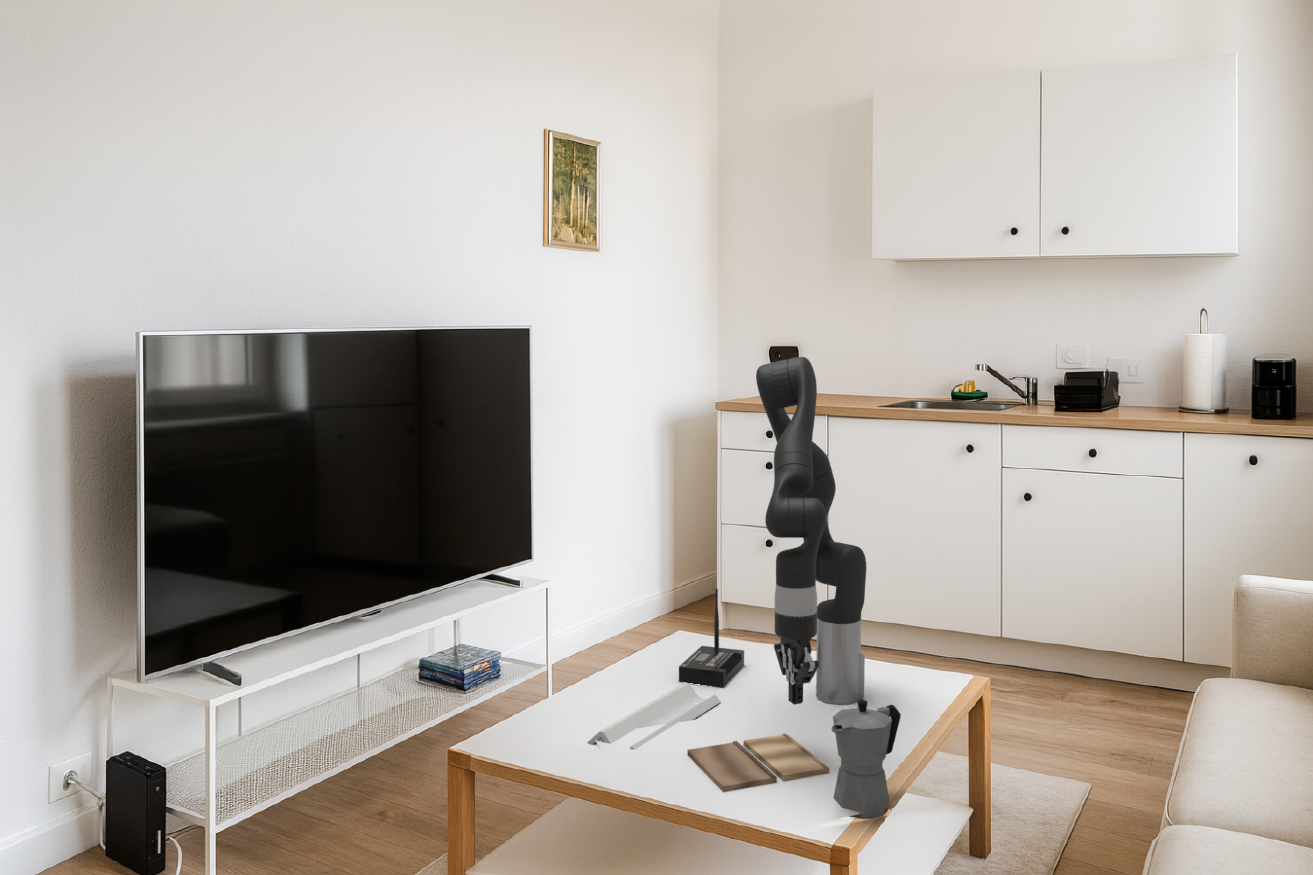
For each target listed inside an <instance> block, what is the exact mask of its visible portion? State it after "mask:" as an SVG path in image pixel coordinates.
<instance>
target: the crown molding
mask: <svg viewBox="0 0 1313 875" xmlns="http://www.w3.org/2000/svg"><path fill="white" fill-rule="evenodd" d="M721 702H722V701H721V699H719V697H718V696H717V695H716V694H713V695H712V696H709V697H708V698H702V697H701V696H699V695H698V694H697V692H696V691H695V689H694V688H693V687H692V686H691V684H689V683H686V682H685V683H681V684H679V685H678V686H676V687H675V688H673V689H671V690H669V691H668V692H666V693H665V694H662V695H660V696H659V697H657V698H655V699H654V700H652V701H651V702H648V703H647V704H645V705H643V706H641V707H640V708H638V709H637V710H636V709H635V710H634V711H633V712H631V713H629V714H627V715H626V716H624V717H623V718H621V719H619V720H617V721H615V722H614V723H612V724H610V725H608V726H607V727H605V728H603V729H601V730H600V731H598V732H597V733H596V734H595V735H593V737H591V738H590V739H589V740H588V741H587V743H586V744H590V745H595V744H596V743H597V741H600V742H604V743H607V744H613V743H615V742H616V741H618V740H620V739H622V738H623V737H625V736H626V735H628V734H630V733H632V732H634V731H635V730H636V729H643V728H649V727H655V726H662V727H660V728H658V729H656V730H655V731H654V732H652V733H650V734H649V735H647V736H645V737H644V738H642V739H640V740H639V741H638V742H636V743H634V744H632V745H631V746H630V747H629V749H631V750H634V751H635V750H637V749H638V748H640V747H642V746H643V745H644V744H647V743H648V742H650V741H651V740H653V739H654V738H656V737H658V736H659V735H661V734H662V733H664V732H665V731H667V730H668V729H671V728H672V727H673V726H675V725H676V724H679V723H683V722H688V721H693V720H695V719H697V718H698V717H700V716H702V715H703V714H704V713H706V712H707V710H708V711H709V710H711V709H712V708H713V707H716V706H717V705H719V704H720V703H721ZM695 703H698V704H695ZM696 717H697V718H696Z"/></svg>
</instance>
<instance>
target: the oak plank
mask: <svg viewBox="0 0 1313 875" xmlns="http://www.w3.org/2000/svg"><path fill="white" fill-rule="evenodd" d="M742 746H743V747H744V748H745V749H746V750H747V751H748V752H750V753H751V754H752V755H753V756H754V757H755V758H756V759H757V760H758V761H760V762H761V763H762V764H763V765H764V766H765V767H766V768H767V769H768V770H770V771H771V772H772V773H773V774H774V775H775V776H776V777H778V778H779V779H780V780H781V781H782V782H785V781H791V780H792V781H793V780H797V779H802V778H809V777H815V776H820V775H824V774H826V775H827V774H830V767H829V766H828V765H826V764H825V763H824V762H823V761H822V760H821V759H819V758H817V756H815V755H814V754H813V753H811V752H810V751H809V750H807V749H806V748H805V747H804V746H803V745H801V744H800V743H799V742H798V741H796V740H795V739H794V738H792V737H791V736H790V735H789V734H787V733H782V734H778V735H770V736H764V737H757V738H749V739H745V740H743V744H742Z"/></svg>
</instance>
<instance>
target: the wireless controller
mask: <svg viewBox="0 0 1313 875" xmlns="http://www.w3.org/2000/svg"><path fill="white" fill-rule="evenodd" d="M718 591H719V589H718V588H715V596H714V597H715V608H714V624H713V626H714V628H713V630H714V632H713V633H714V634H713V636H714V637H713V640H714V641H713V642H714V643H713V644H714V646H709V645H707V646H706V645H701V646H700V647H699V648H697V649H696V650H695V652H693V653H692V654H691V655H690V656H689V657H688V658H687V659H685V661H683V662H682V663H681V664H679V666H678V683H679V682H686V683H693V684H692V685H694V684H700V685H699V686H702V685H707V686H706V687H710V686H712V688H717V689H719V688H721V689H724V688H725V687H726V686H727V685H728V684H729V683H730V682H731V680H732V679H733V678H734V677H736V675H737V674H738V673H739V672H740V671H741V670H742V668H743V667H744V666H745V650H742V649H735V648H733V649H732V648H725V647H720V619H719V617H720V616H719V603H718V602H719V595H718V594H719V592H718ZM728 682H729V683H728Z"/></svg>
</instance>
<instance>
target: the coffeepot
mask: <svg viewBox="0 0 1313 875" xmlns="http://www.w3.org/2000/svg"><path fill="white" fill-rule="evenodd" d="M868 703H869V701H867V699H866V700H864V699H859V700H858V701H857V707H855V708H845V709H843V708H842V709H840V710H838V712H837V713H835V715H833V716H832V719H833V720H832V721H833V725H832V726H831V731H832V732H833V733H834V734H835V741H836V747H837V754H838V756H839V758H840V761H841V762H840V766H839V767H838V773H837V777H836V782H835V788H834V793H833V799H834V801H835V802H836V803H837V804H838V806H840V807H841V808H842V809H845V810H850V811H854V812H856V813H858V814H851V815H849V817H851V818H854V819H855V818H856V819H862V820H863V819H864V820H868V819H870V820H871V819H878V818H880V817H883V816H885V815H886V814H887V813H888V811H889V808H886V807H887V806H888V805H889V804H890V802H891V801H890V795H889V790H888V783H887V777H886V771H885V769H884V766H883V762H884V760H885V759H886V756H887V755H888V754H891V753H892V752H893V748H894V744H895V741H896V738H897V732H898V728H899V725H900V722H901V717H902V716H901V712H900V711H899V710H898V708H897V707H896V706H895V705H894V704H889V705H887V706H880V707H877V709H876V710H875V709H870V708H868Z"/></svg>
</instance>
